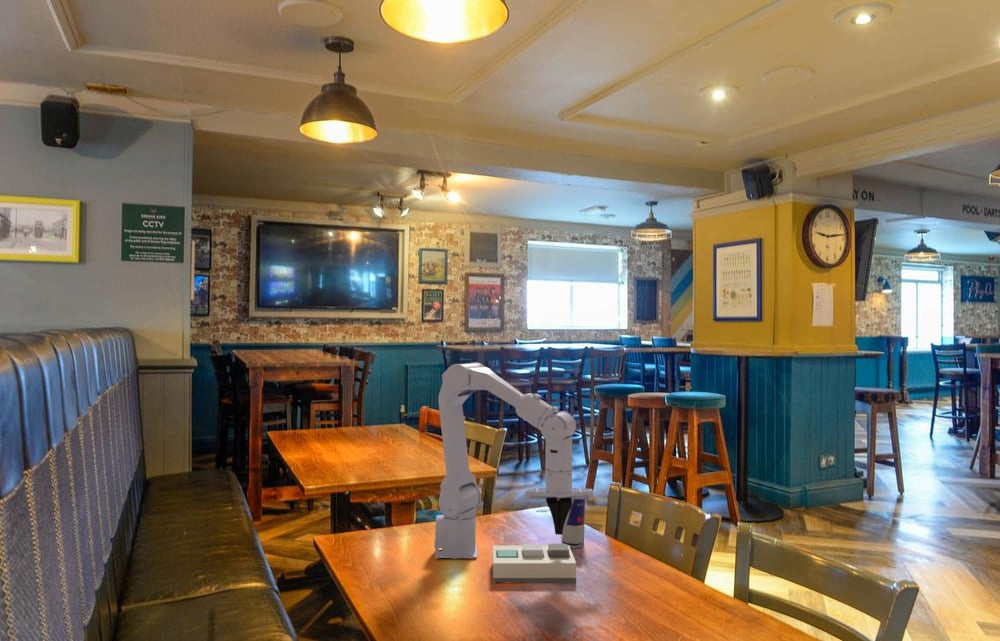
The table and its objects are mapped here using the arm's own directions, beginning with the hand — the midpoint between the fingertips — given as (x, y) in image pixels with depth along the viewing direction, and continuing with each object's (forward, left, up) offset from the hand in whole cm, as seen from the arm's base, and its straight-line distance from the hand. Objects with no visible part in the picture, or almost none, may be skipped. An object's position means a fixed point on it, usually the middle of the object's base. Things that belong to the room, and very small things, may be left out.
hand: (558, 533), depth 139 cm
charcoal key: (0, 0, -6) cm, 6 cm away
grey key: (-6, 0, -6) cm, 8 cm away
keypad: (-6, 0, -8) cm, 10 cm away
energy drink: (+5, +18, -9) cm, 21 cm away
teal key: (-11, 0, -7) cm, 13 cm away
